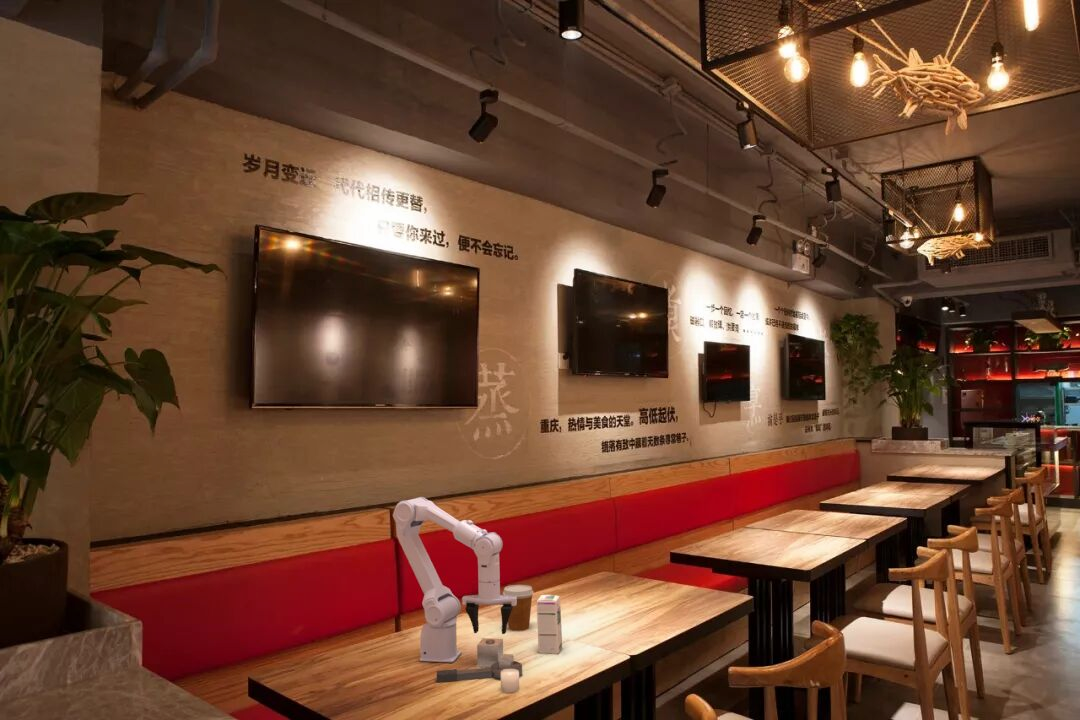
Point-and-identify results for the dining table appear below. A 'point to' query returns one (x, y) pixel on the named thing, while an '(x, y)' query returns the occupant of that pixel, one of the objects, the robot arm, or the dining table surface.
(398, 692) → the dining table surface
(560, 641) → the syrup box
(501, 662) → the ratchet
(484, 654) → the tan square block
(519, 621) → the disposable coffee cup
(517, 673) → the pale pink cylinder
